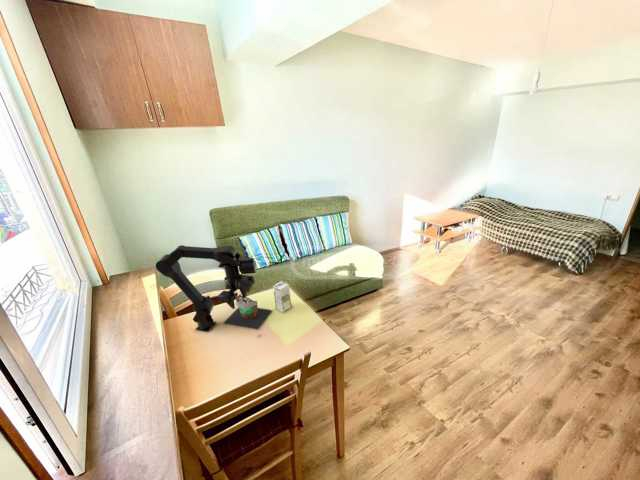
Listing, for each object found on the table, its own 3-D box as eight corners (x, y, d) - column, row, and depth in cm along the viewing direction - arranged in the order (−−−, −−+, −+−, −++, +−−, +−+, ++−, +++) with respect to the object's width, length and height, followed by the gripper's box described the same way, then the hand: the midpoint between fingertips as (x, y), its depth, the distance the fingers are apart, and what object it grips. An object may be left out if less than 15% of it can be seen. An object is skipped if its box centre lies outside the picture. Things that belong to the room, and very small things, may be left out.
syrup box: (284, 303, 150) (280, 280, 143) (291, 307, 147) (288, 284, 140) (275, 308, 146) (272, 285, 139) (283, 312, 143) (280, 289, 136)
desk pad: (224, 323, 136) (224, 322, 135) (240, 306, 148) (240, 305, 147) (257, 329, 132) (257, 327, 131) (271, 311, 144) (271, 310, 143)
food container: (233, 316, 139) (229, 299, 135) (243, 309, 144) (239, 293, 139) (250, 323, 134) (247, 307, 129) (260, 316, 139) (257, 300, 134)
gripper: (237, 287, 114) (243, 317, 121) (259, 266, 130) (264, 293, 137) (213, 284, 116) (221, 314, 123) (238, 263, 132) (244, 291, 139)
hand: (239, 302), depth 130 cm, fingers open, 9 cm apart
